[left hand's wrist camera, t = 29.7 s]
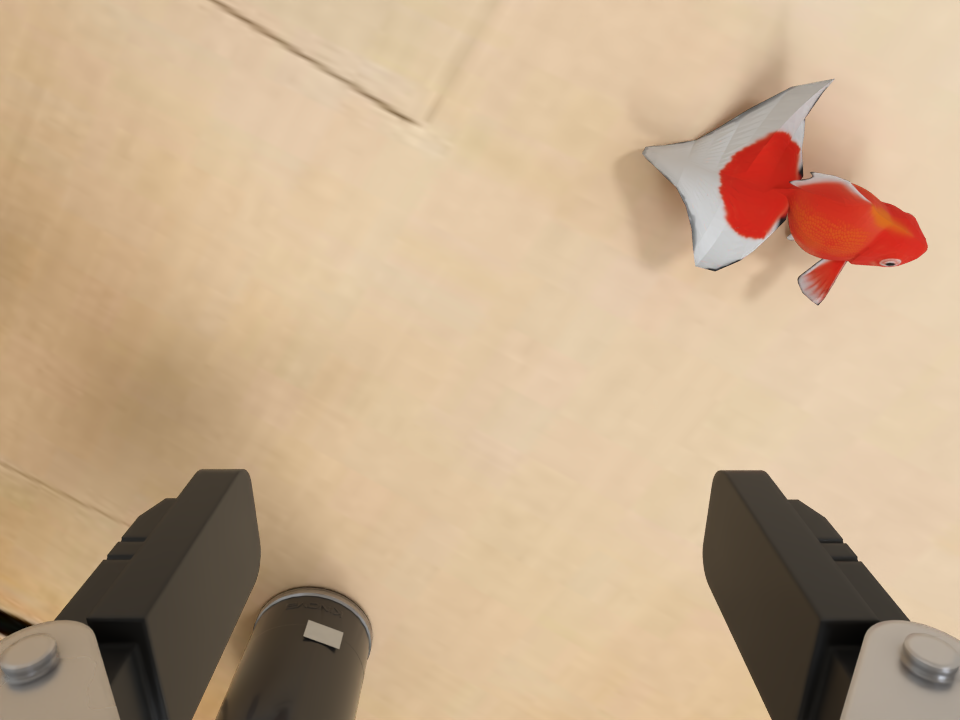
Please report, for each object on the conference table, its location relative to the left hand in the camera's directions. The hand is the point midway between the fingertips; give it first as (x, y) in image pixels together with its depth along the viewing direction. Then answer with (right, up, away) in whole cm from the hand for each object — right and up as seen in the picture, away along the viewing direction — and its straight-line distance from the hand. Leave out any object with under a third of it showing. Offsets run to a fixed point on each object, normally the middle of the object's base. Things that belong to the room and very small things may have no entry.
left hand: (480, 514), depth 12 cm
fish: (+17, +13, +30) cm, 37 cm away
